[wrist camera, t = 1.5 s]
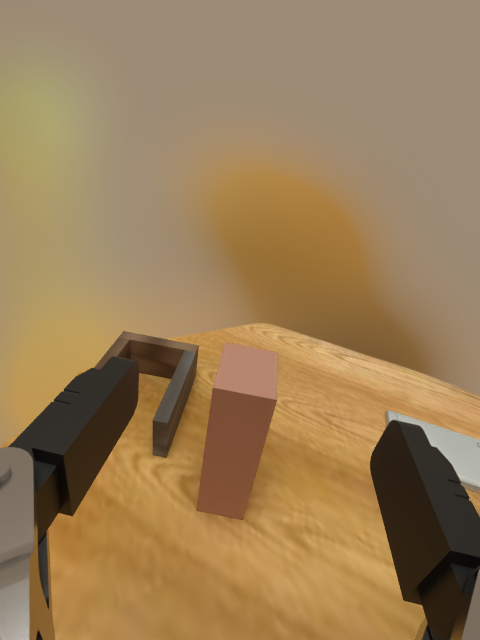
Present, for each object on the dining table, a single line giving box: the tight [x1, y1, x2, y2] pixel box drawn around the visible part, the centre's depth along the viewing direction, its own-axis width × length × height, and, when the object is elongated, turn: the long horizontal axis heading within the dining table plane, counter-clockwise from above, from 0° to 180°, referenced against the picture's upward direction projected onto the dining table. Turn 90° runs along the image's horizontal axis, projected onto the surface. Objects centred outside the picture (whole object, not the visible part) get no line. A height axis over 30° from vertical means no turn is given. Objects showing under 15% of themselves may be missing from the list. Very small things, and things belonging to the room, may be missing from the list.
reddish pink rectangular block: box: [197, 343, 278, 520], centre depth 28 cm, size 4×6×16 cm
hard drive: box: [385, 410, 480, 493], centre depth 40 cm, size 2×8×12 cm
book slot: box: [94, 331, 199, 457], centre depth 39 cm, size 10×14×6 cm
